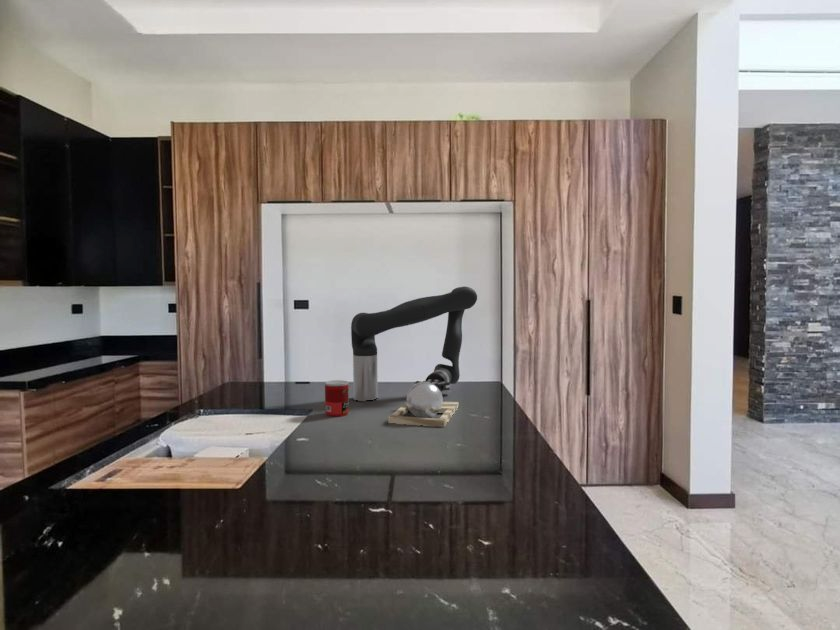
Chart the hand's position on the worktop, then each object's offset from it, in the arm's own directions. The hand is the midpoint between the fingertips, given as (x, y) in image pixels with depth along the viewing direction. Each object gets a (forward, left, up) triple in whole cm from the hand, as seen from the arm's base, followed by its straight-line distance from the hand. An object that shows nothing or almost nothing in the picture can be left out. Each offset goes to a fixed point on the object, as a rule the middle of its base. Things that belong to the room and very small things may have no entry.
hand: (427, 390), depth 176 cm
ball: (+5, -4, -2) cm, 6 cm away
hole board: (+1, -1, -8) cm, 8 cm away
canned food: (-16, -26, -8) cm, 32 cm away
